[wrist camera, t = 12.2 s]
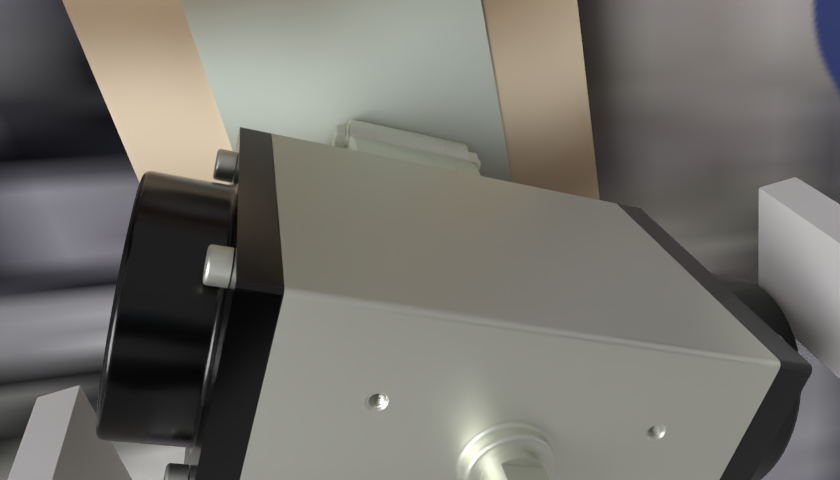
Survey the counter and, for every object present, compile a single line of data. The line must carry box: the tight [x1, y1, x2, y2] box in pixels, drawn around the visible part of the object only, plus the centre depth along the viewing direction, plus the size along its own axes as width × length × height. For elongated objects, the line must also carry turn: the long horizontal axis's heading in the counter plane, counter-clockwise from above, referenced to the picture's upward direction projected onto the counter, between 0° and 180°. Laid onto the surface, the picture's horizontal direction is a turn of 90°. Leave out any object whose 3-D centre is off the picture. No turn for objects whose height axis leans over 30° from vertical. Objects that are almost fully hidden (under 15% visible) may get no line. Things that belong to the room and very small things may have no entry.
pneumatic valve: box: [96, 119, 812, 480], centre depth 16 cm, size 6×12×12 cm, turn 74°
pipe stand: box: [62, 0, 600, 200], centre depth 20 cm, size 30×12×8 cm, turn 12°
